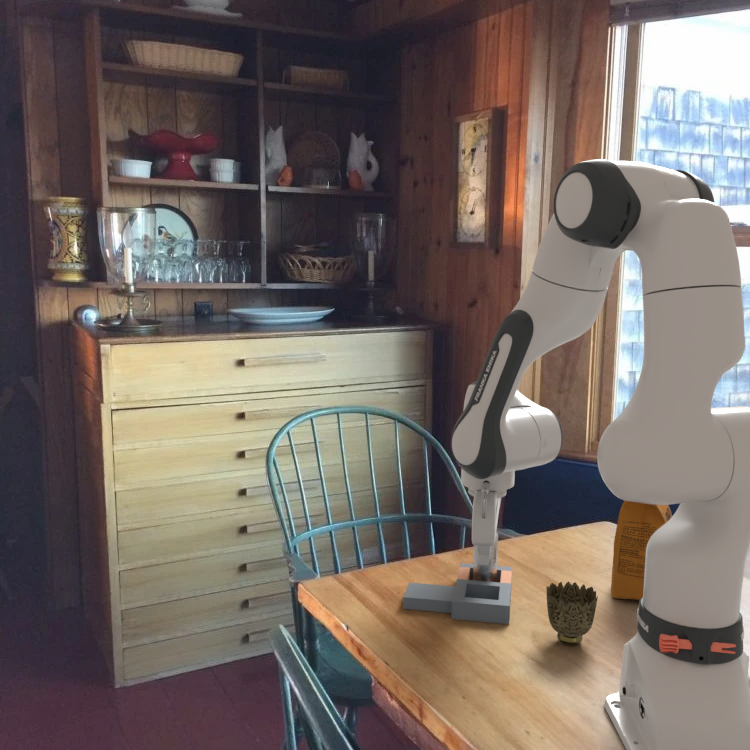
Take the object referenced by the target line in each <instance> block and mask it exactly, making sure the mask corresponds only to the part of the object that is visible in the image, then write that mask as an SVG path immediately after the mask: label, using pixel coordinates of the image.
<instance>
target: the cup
mask: <svg viewBox="0 0 750 750" xmlns="http://www.w3.org/2000/svg"><path fill="white" fill-rule="evenodd" d="M545 590H546V605H547V606H546V607H547V616H548V617H547V618H548V621H549V624H550V626H551V628H552V629H553V630H554V631H555V632H556V633H557V634H556V636H557V637H556V638H557V640H558V642H559V643H560V644H562V645H565V646H569V647H575V646H579V645H580V644H581V643H582V642H583V638H584V637H583V636H584V635H586V634H588V632H589V631H590V630H591V628H592V626H593V623H594V620H595V615H596V609H597V605H598V598H599V596H598V595H597V591H596V590H595V591H594V588H593V586H590V587H587V588H586V585H585V584H584V583H583V584H582V585H581V587H579V585H578V584H577V582H576V581H573V583H571V582H570V581H567V582H566V583H565V584H564V585H563V582H562V581H560V582H558V585H556V584H555V583H554V582H551V583H550V584H549V586H546V589H545Z"/></svg>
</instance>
